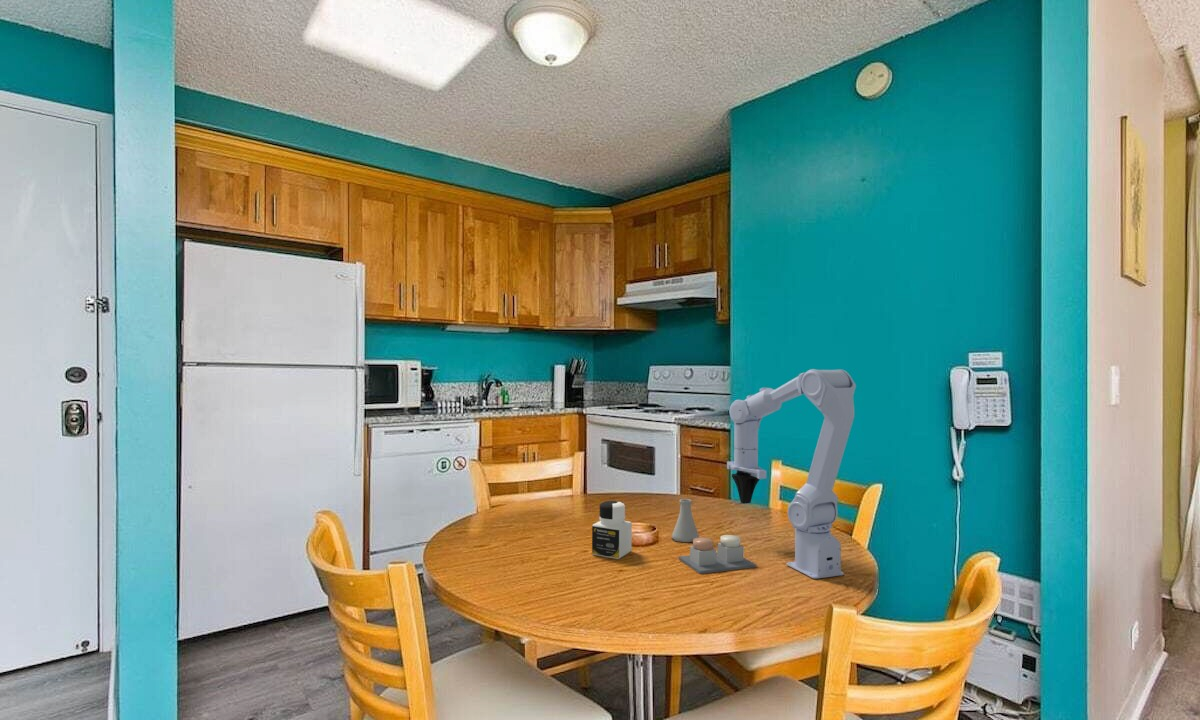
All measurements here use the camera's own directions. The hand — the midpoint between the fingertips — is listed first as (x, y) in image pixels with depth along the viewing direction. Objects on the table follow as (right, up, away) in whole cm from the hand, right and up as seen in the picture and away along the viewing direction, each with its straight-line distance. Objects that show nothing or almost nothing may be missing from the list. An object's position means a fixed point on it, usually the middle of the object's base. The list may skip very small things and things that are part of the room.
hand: (745, 502), depth 148 cm
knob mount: (-10, -10, -14) cm, 20 cm away
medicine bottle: (-33, -10, -7) cm, 36 cm away
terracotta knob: (-13, -9, -15) cm, 22 cm away
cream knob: (-7, -9, -13) cm, 17 cm away
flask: (-14, -11, +4) cm, 18 cm away
